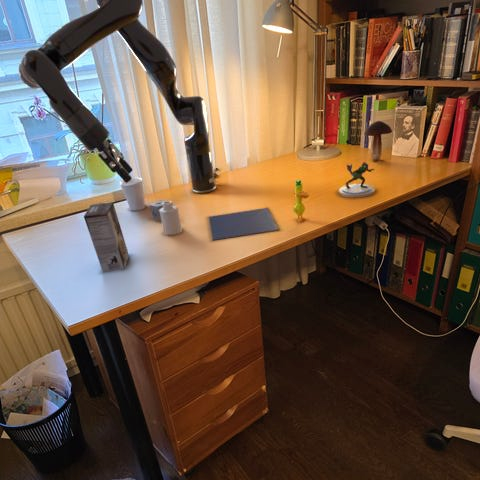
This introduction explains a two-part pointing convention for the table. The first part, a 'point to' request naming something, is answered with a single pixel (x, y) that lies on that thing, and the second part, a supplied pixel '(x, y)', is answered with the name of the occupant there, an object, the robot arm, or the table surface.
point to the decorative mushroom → (377, 137)
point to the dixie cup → (134, 193)
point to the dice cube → (156, 209)
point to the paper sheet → (242, 224)
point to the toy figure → (299, 200)
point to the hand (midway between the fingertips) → (129, 176)
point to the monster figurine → (357, 189)
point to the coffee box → (107, 236)
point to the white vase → (170, 218)
